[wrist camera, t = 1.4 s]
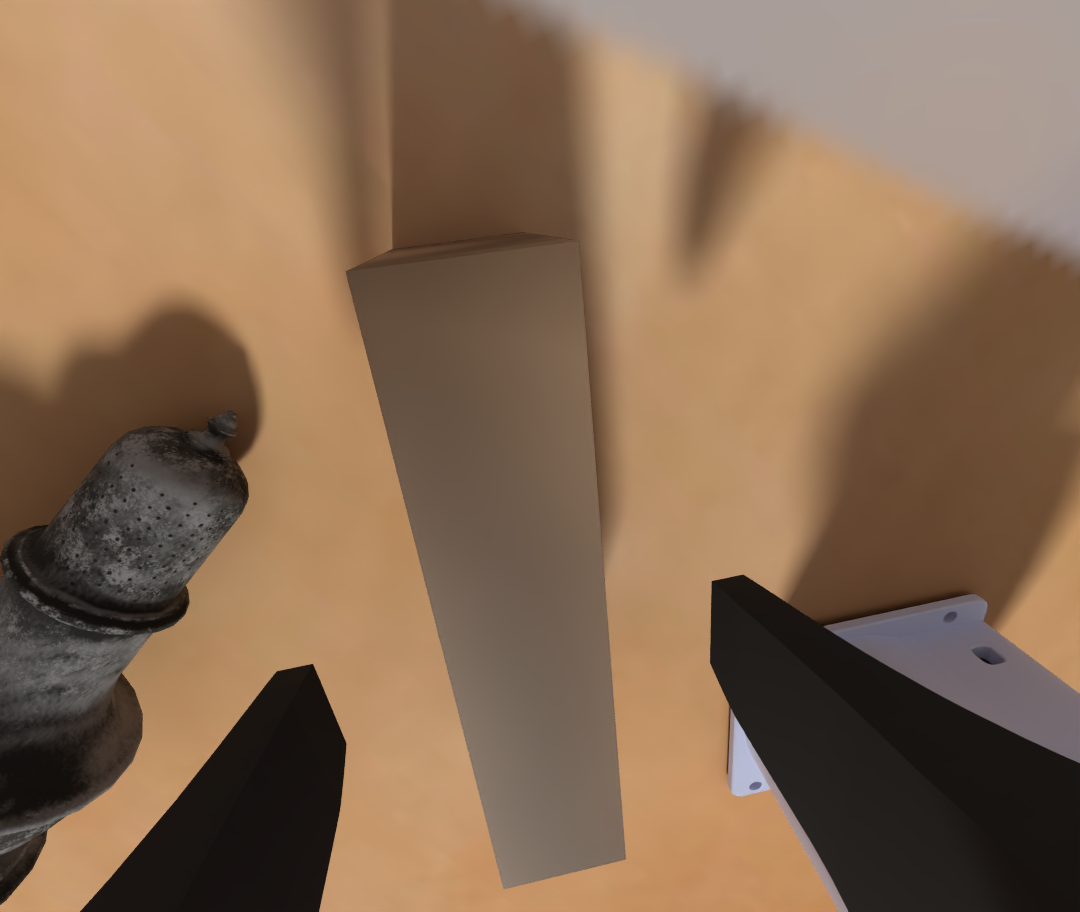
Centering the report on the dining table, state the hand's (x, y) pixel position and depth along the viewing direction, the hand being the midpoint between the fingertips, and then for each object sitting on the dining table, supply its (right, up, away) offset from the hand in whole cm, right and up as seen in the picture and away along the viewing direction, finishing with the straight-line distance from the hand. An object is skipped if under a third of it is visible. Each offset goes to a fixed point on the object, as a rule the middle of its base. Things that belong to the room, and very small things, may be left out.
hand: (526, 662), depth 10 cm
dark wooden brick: (-1, +2, +6) cm, 6 cm away
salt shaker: (-14, -5, +2) cm, 15 cm away
